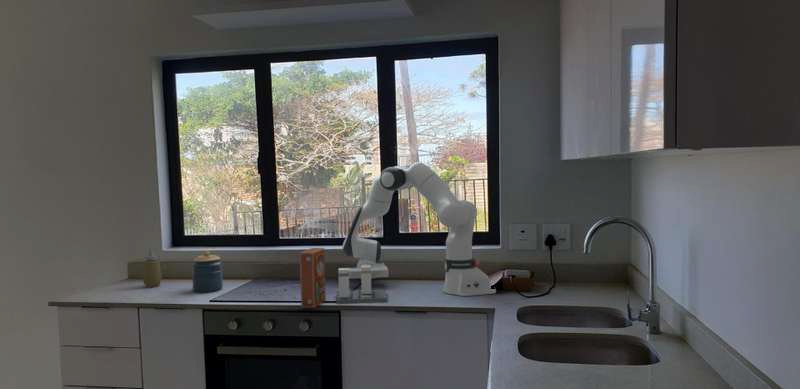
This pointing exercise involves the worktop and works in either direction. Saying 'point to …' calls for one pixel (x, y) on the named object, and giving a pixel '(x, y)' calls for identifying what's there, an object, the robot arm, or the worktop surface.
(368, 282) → the breaker toggle
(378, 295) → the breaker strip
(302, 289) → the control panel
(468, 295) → the robot arm
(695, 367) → the worktop surface
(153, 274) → the squeeze bottle
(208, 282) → the canister
